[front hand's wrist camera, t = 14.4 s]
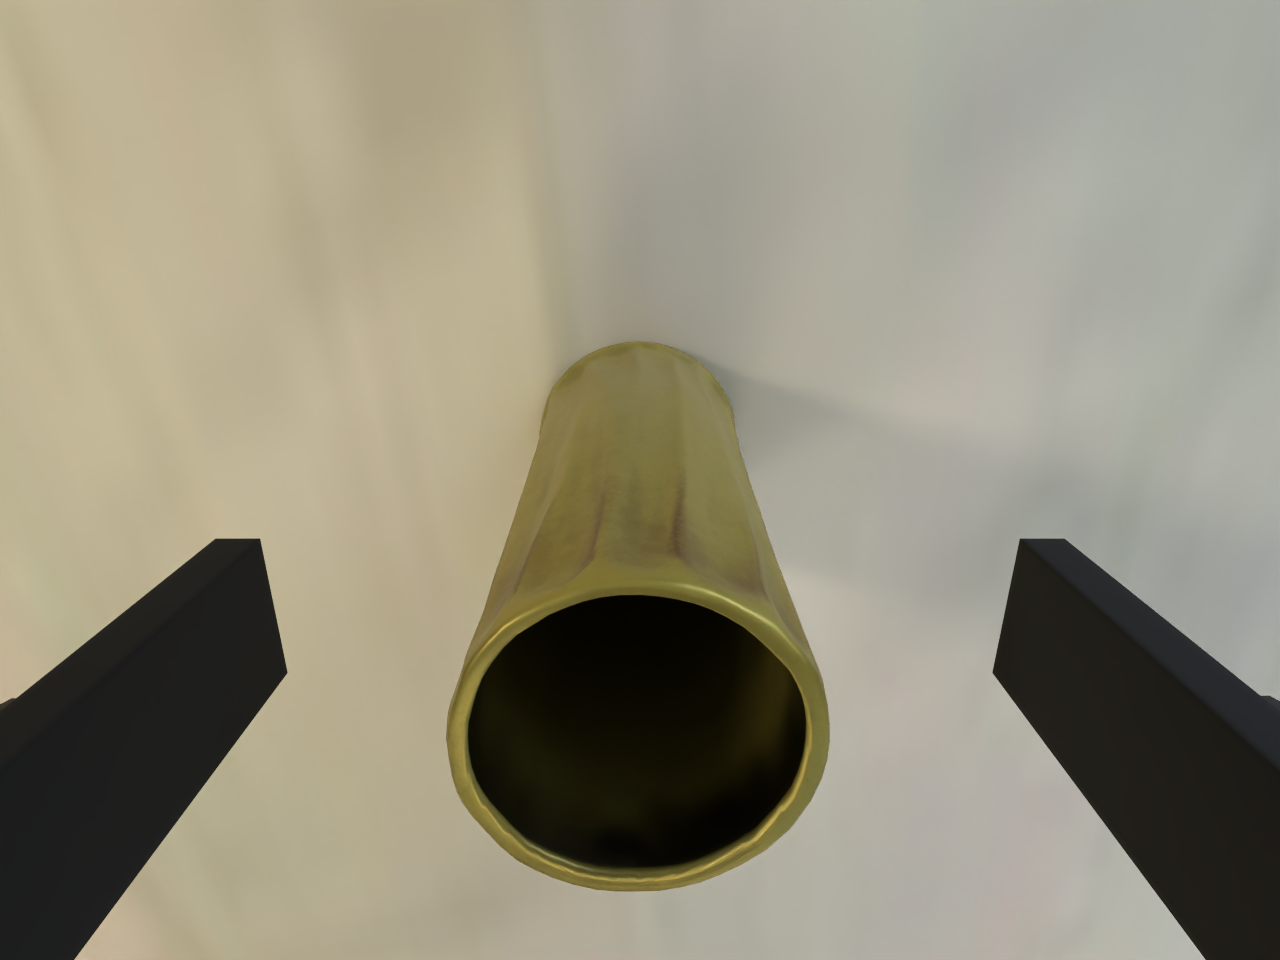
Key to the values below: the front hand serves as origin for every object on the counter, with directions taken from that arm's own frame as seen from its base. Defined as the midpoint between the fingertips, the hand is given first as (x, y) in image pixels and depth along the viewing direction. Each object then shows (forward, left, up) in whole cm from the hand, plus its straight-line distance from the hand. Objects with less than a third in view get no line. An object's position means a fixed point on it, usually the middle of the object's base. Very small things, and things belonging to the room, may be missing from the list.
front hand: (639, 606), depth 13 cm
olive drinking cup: (0, 0, -11) cm, 11 cm away
